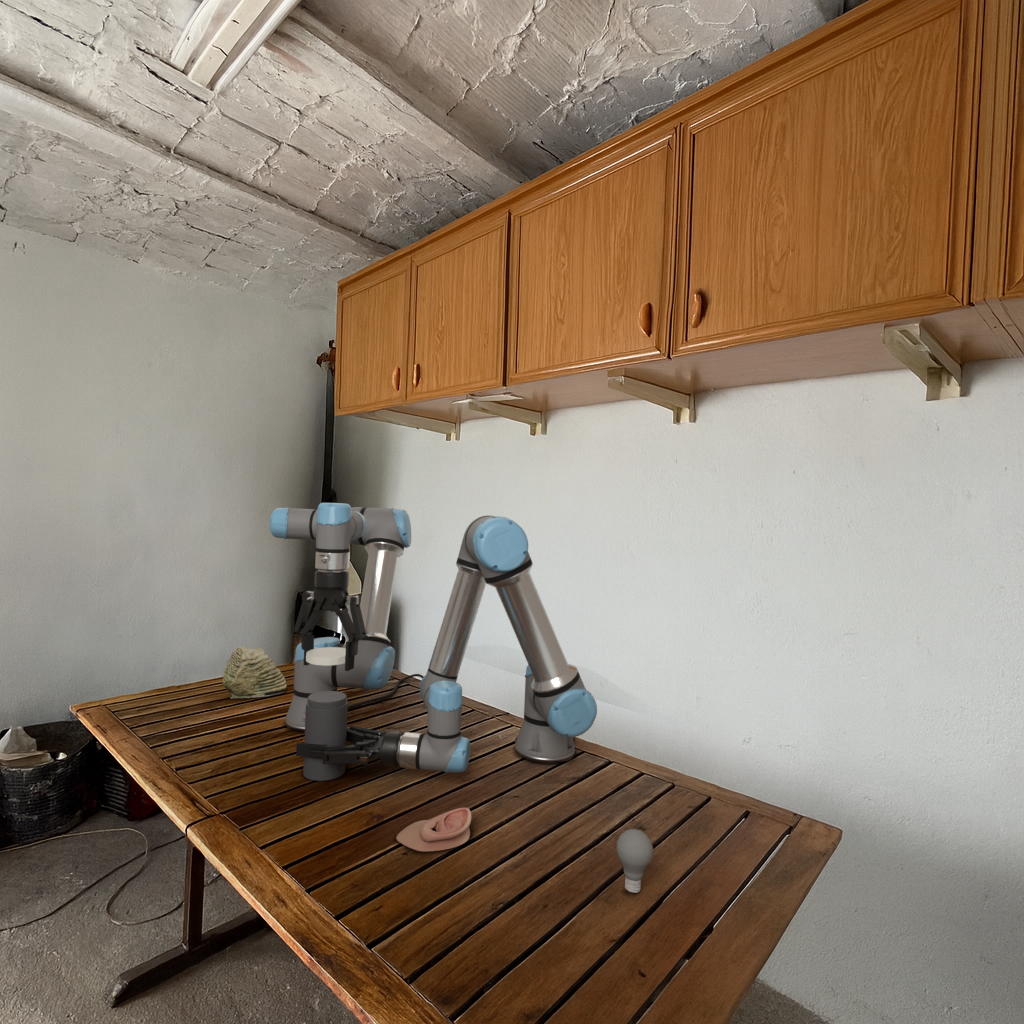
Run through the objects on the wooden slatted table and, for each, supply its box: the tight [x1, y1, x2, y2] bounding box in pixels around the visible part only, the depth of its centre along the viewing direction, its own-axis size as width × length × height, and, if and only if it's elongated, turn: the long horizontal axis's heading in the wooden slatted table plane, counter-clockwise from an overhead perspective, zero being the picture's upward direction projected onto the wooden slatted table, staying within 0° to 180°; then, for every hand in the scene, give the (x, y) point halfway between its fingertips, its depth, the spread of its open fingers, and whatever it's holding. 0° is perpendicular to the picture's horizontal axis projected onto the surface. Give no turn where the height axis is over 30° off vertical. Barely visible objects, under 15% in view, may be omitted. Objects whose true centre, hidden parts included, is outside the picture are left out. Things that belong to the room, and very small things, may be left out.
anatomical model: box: [395, 807, 472, 853], centre depth 120 cm, size 13×4×12 cm
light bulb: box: [615, 828, 654, 894], centre depth 106 cm, size 6×6×10 cm
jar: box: [302, 690, 349, 782], centre depth 146 cm, size 9×9×18 cm
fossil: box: [222, 646, 288, 699], centre depth 198 cm, size 9×18×15 cm, turn 132°
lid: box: [306, 647, 346, 666], centre depth 145 cm, size 10×10×2 cm
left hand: (328, 666), depth 146 cm, fingers closed on lid, 10 cm apart
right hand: (306, 740), depth 146 cm, fingers closed on jar, 9 cm apart
